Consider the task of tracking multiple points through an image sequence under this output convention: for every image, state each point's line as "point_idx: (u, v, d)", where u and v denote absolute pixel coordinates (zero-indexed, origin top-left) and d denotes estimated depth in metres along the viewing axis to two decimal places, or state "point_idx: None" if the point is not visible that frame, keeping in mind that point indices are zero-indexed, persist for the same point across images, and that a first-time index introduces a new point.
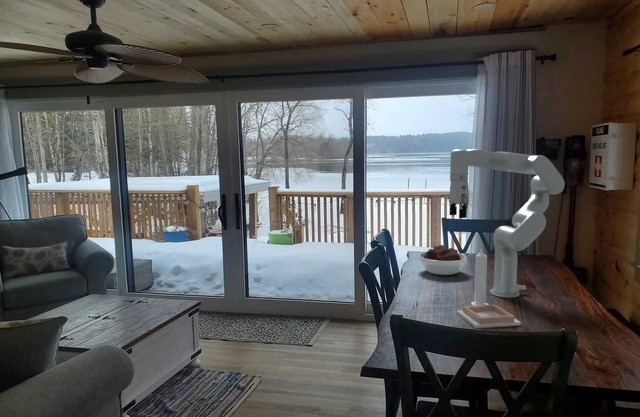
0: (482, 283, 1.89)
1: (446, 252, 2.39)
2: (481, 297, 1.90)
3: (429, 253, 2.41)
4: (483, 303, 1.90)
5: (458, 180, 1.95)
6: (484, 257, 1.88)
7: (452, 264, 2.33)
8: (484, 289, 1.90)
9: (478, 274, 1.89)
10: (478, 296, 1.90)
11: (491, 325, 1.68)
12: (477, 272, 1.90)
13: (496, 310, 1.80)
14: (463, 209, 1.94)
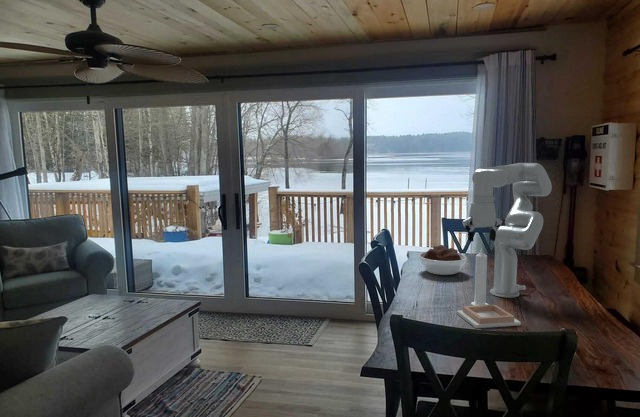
0: (482, 283, 1.89)
1: (446, 252, 2.39)
2: (481, 297, 1.90)
3: (429, 253, 2.41)
4: (483, 303, 1.90)
5: (492, 202, 1.86)
6: (484, 257, 1.88)
7: (452, 264, 2.33)
8: (484, 289, 1.90)
9: (478, 274, 1.89)
10: (478, 296, 1.90)
11: (491, 325, 1.68)
12: (477, 272, 1.90)
13: (496, 310, 1.80)
14: None
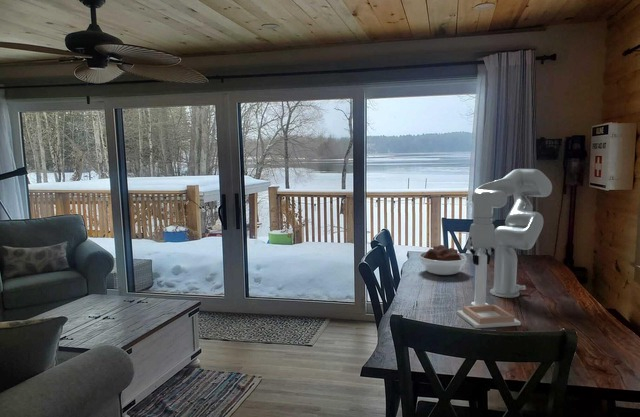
0: (482, 283, 1.89)
1: (446, 252, 2.39)
2: (481, 297, 1.90)
3: (429, 253, 2.41)
4: (483, 303, 1.90)
5: None
6: (484, 257, 1.88)
7: (452, 264, 2.33)
8: (484, 289, 1.90)
9: (478, 274, 1.89)
10: (478, 296, 1.90)
11: (491, 325, 1.68)
12: (477, 272, 1.90)
13: (496, 310, 1.80)
14: None
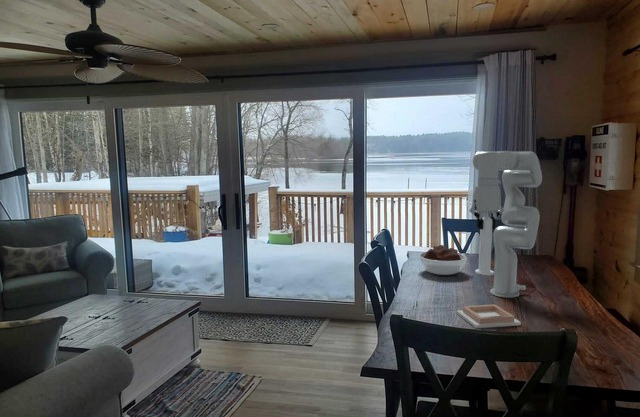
0: (487, 249, 1.79)
1: (446, 252, 2.39)
2: (486, 263, 1.80)
3: (429, 253, 2.41)
4: (488, 270, 1.81)
5: (497, 185, 1.78)
6: (489, 221, 1.78)
7: (452, 264, 2.33)
8: (489, 255, 1.80)
9: (483, 239, 1.80)
10: (482, 263, 1.81)
11: (491, 325, 1.68)
12: (482, 237, 1.80)
13: (496, 310, 1.80)
14: None
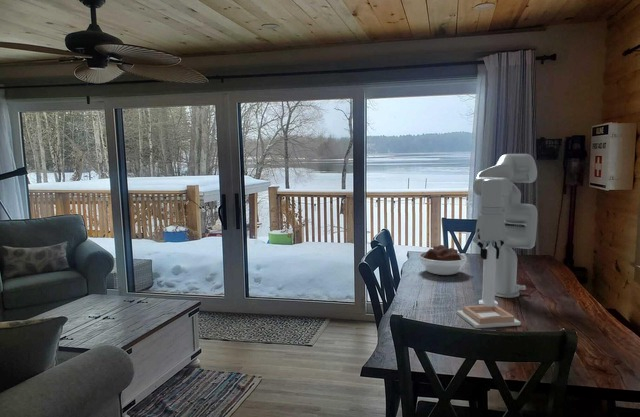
0: (491, 279, 1.73)
1: (446, 252, 2.39)
2: (490, 294, 1.73)
3: (429, 253, 2.41)
4: (492, 301, 1.74)
5: (501, 214, 1.71)
6: (493, 251, 1.71)
7: (452, 264, 2.33)
8: (493, 286, 1.73)
9: (486, 269, 1.73)
10: (486, 294, 1.74)
11: (491, 325, 1.68)
12: (485, 267, 1.73)
13: (496, 310, 1.80)
14: None
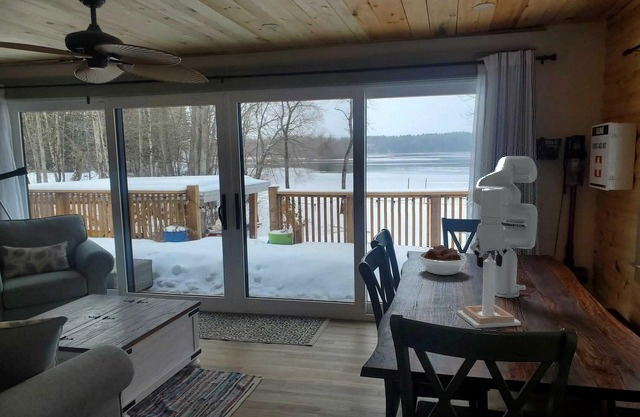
0: (491, 291, 1.74)
1: (446, 252, 2.39)
2: (489, 307, 1.74)
3: (429, 253, 2.41)
4: (492, 313, 1.75)
5: None
6: (493, 263, 1.72)
7: (452, 264, 2.33)
8: (493, 298, 1.74)
9: (486, 282, 1.74)
10: (486, 306, 1.75)
11: (491, 325, 1.68)
12: (485, 279, 1.74)
13: (496, 310, 1.80)
14: None
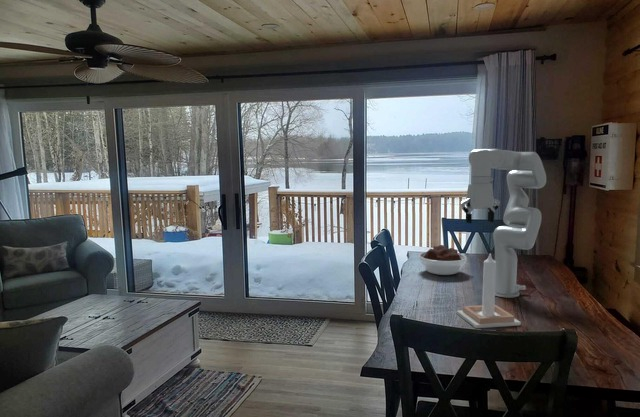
0: (491, 292, 1.73)
1: (446, 252, 2.39)
2: (489, 307, 1.74)
3: (429, 253, 2.41)
4: (492, 313, 1.75)
5: (490, 182, 1.82)
6: (493, 263, 1.72)
7: (452, 264, 2.33)
8: (493, 298, 1.74)
9: (486, 282, 1.74)
10: (486, 306, 1.75)
11: (491, 325, 1.68)
12: (485, 280, 1.74)
13: (496, 310, 1.80)
14: None
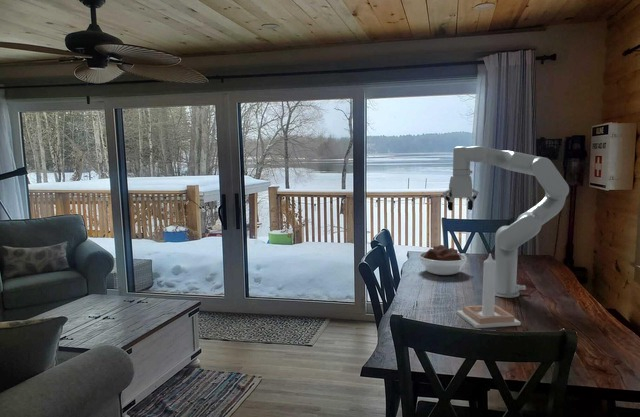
0: (491, 292, 1.73)
1: (446, 252, 2.39)
2: (489, 307, 1.74)
3: (429, 253, 2.41)
4: (492, 313, 1.75)
5: (469, 175, 2.08)
6: (493, 263, 1.72)
7: (452, 264, 2.33)
8: (493, 298, 1.74)
9: (486, 282, 1.74)
10: (486, 306, 1.75)
11: (491, 325, 1.68)
12: (485, 280, 1.74)
13: (496, 310, 1.80)
14: None
